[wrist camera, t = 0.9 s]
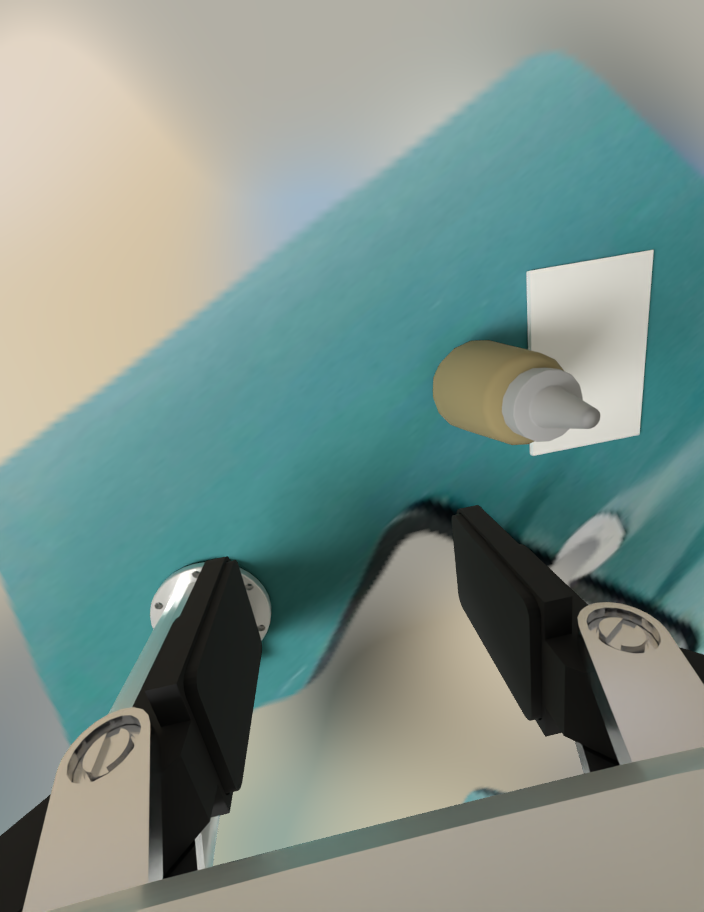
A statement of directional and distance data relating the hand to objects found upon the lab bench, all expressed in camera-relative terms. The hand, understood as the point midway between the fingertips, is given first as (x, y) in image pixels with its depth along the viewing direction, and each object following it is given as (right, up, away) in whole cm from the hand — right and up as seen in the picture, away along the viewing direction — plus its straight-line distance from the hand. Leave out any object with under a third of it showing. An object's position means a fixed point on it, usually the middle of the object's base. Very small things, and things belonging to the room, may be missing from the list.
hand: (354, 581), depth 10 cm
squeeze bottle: (+11, +11, +27) cm, 31 cm away
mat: (+23, +13, +28) cm, 39 cm away
